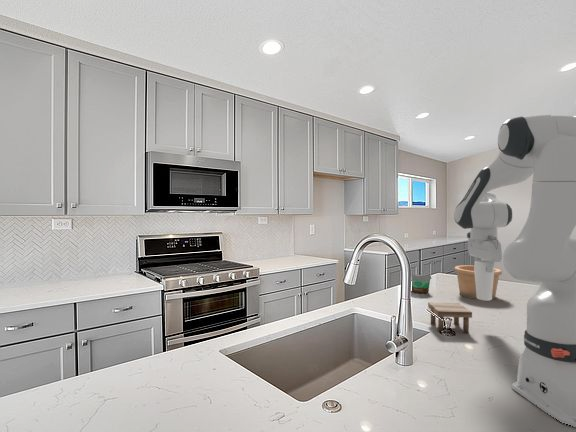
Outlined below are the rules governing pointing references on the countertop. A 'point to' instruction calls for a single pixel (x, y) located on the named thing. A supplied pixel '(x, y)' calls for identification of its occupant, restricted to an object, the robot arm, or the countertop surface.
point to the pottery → (472, 281)
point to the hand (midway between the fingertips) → (484, 270)
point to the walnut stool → (450, 314)
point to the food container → (420, 284)
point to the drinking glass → (483, 280)
